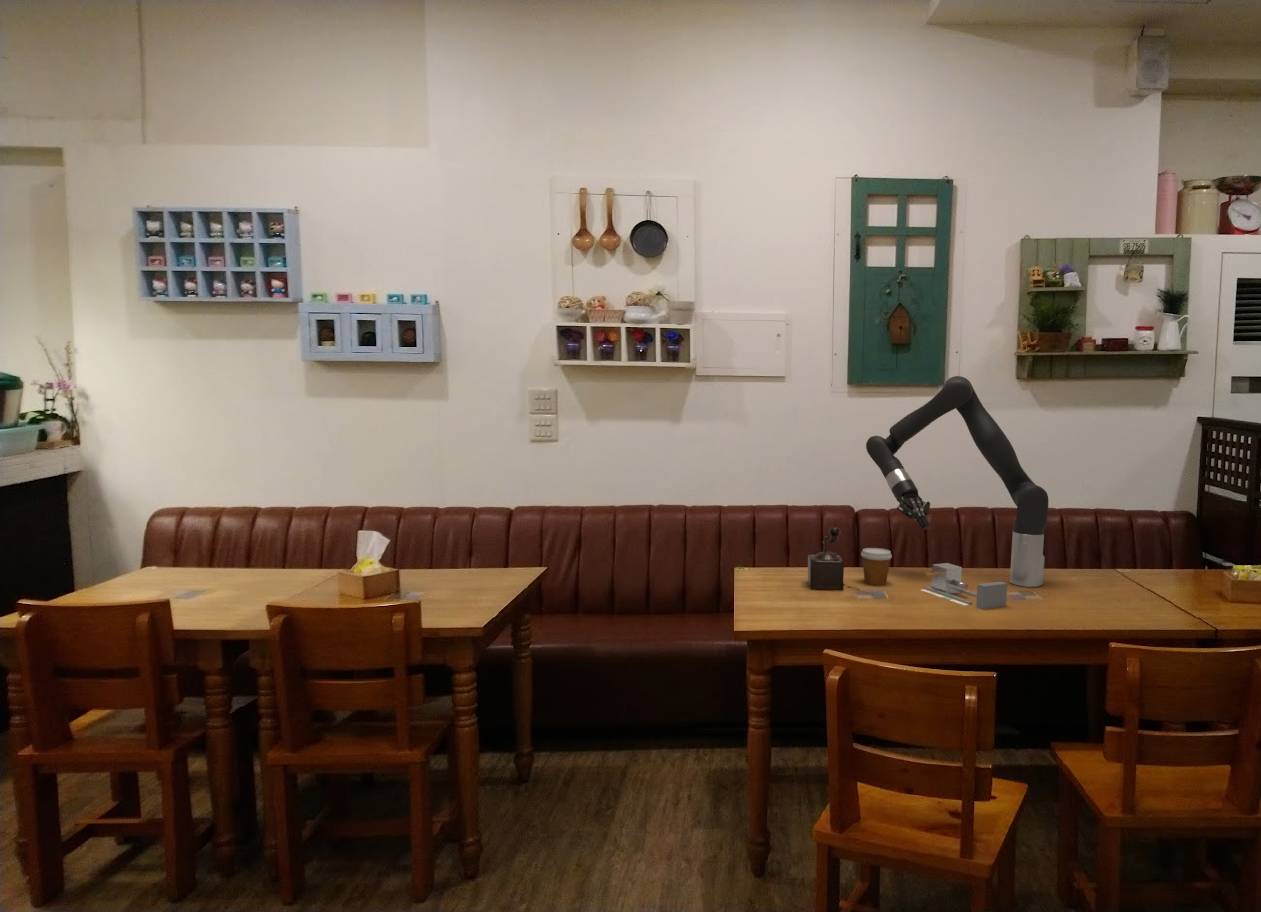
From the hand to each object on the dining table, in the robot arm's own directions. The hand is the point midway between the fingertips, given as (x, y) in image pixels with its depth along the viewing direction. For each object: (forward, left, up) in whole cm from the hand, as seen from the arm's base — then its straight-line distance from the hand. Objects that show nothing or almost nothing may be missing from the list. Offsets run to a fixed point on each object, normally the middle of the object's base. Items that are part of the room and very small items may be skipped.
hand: (926, 527), depth 259 cm
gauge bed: (+2, +19, -19) cm, 27 cm away
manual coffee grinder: (+29, -13, -19) cm, 37 cm away
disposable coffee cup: (+16, -4, -19) cm, 26 cm away
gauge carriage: (+4, +14, -18) cm, 23 cm away
